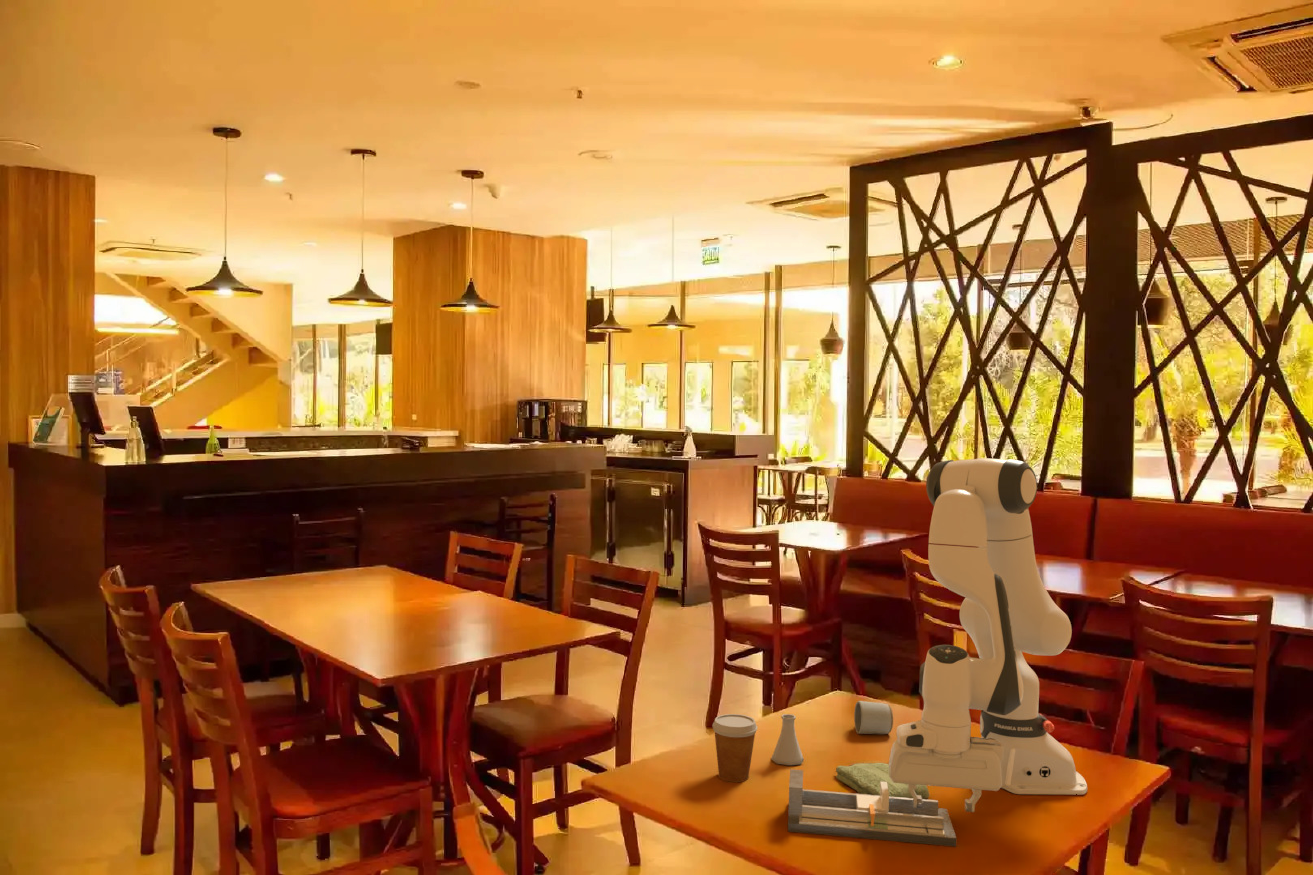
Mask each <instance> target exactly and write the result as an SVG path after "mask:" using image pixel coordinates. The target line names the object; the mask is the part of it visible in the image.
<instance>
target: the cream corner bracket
mask: <svg viewBox="0 0 1313 875" xmlns="http://www.w3.org/2000/svg"><path fill="white" fill-rule="evenodd" d="M856 810H867V811H870V816H871V826H874V817H875V811H879V812H889V791H888V786H887V782H881V781H880V796H868V795H856Z"/></svg>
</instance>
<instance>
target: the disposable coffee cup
mask: <svg viewBox="0 0 1313 875" xmlns="http://www.w3.org/2000/svg"><path fill="white" fill-rule="evenodd" d="M756 722H757V721H756V720H755V718H753V717H751V716H748V715H745V714H744V715H743V714H738V713H727V714H720V715H718V716H716V717H714V721H713V723H712V725H711V726H712V729H713V732H714V737H715V739H714V740H715V750H716V758H717V760H716V761H717V769H718V777H719V778H720V779H721V780H723V781H726V782H732V783H741V782H745V781H746V780H748V779H749V777H750V769H751V762H752V756H753V749H754V744H755V743H754V742H755V737H756V733H757V731H758V726H757V723H756Z"/></svg>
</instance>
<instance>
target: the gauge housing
mask: <svg viewBox="0 0 1313 875" xmlns="http://www.w3.org/2000/svg"><path fill="white" fill-rule="evenodd" d="M803 783H804V770H803V769H789V785H788V819H787V820H788V821H787V832H791V833H801V834H802V833H804V834H811V835H812V834H813V835H822V834H823V835H825V836H834V837H846V838H854V839H855V838H856V839H866V840H867V839H870V840H879V841H888V842H889V841H892V842H902V843H913V844H923V845H933V846H944V847H945V846H946V847H955V848H956V847H957V836H956V833H955V829H954V827H953V823H952V821H951V818H950V814H949V812H948V809H947V808H940V807H939V801H938V800H936V799H927V798H926V799H922V803H921V804H922V808H919V807H914V806H913V798H902V797H890V796H889V812H879V811H875V817H874V826H871V816H870V811H867V810H856V795H866V794H861V793H852V792H841V791H839V792H838V791H828V790H817V789H815V790H814V789H806V788H805V789H804V788H803V787H804V784H803ZM868 796H878V795H868ZM823 835H822V836H823Z"/></svg>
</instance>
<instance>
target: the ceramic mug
mask: <svg viewBox="0 0 1313 875" xmlns="http://www.w3.org/2000/svg"><path fill="white" fill-rule="evenodd" d="M853 714H854V716H853V719H854V728H855V731H856V733H857V734H859V735H887V734H890V733H891V732H892V730H893V727H894V713H893V709H892V707H891V705H889V704H887V703H884V702H873V701H865V700H857V702H856V703H855V707H854V713H853Z"/></svg>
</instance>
